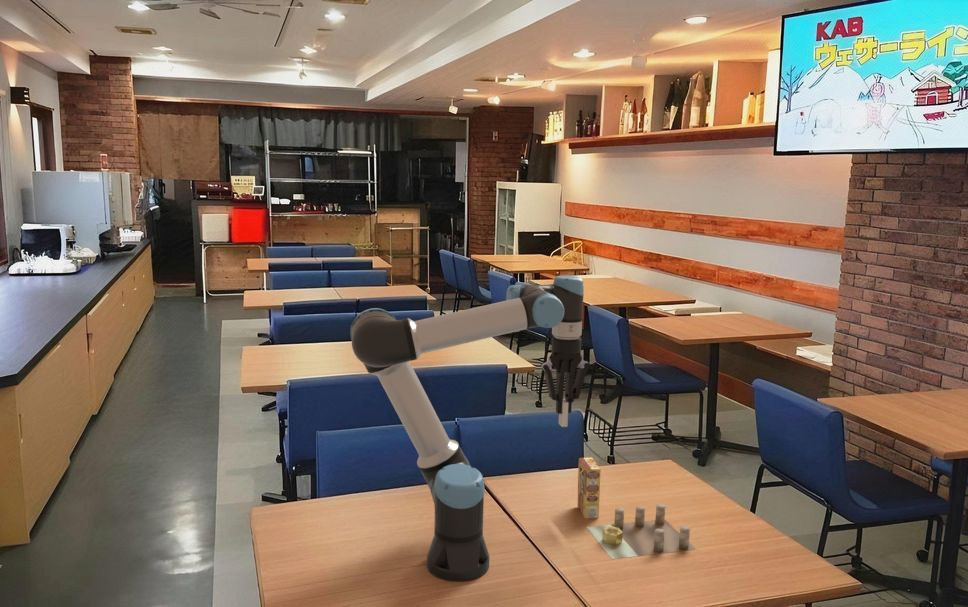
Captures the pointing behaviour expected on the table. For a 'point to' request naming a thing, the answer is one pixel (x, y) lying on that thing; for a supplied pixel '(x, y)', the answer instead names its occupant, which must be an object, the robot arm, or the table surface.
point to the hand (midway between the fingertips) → (562, 424)
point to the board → (644, 535)
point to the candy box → (588, 487)
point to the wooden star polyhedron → (612, 536)
